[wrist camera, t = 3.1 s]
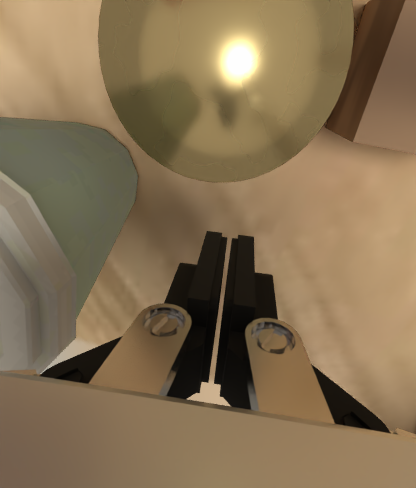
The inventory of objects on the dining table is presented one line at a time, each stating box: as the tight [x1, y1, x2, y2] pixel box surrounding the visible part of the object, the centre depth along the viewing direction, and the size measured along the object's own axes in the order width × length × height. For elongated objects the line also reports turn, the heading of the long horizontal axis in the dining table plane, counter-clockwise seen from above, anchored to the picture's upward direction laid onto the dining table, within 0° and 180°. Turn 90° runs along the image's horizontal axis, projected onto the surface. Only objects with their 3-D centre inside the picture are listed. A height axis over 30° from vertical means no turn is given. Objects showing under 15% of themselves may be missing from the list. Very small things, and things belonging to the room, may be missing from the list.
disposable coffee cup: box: [0, 117, 138, 374], centre depth 15 cm, size 11×11×15 cm
